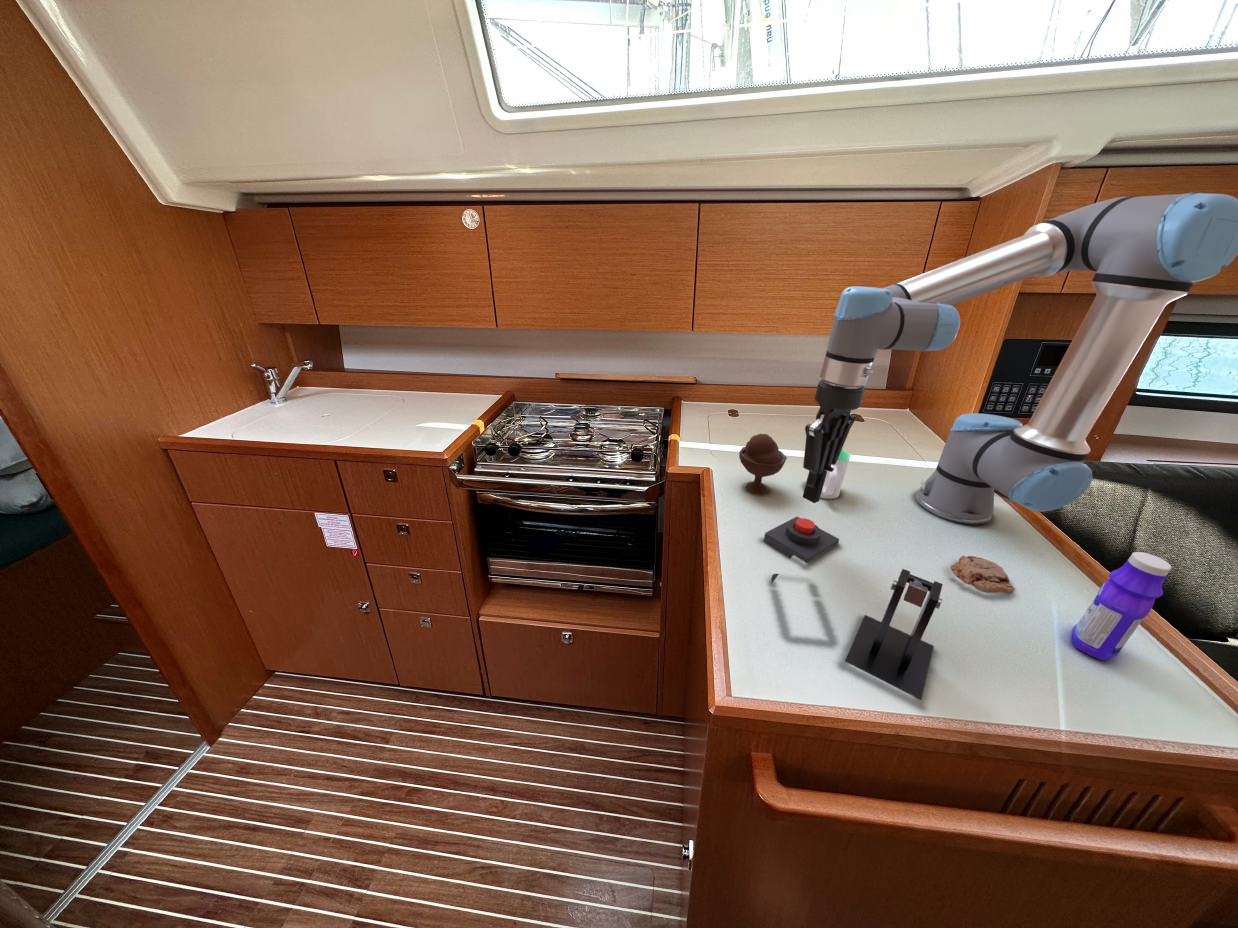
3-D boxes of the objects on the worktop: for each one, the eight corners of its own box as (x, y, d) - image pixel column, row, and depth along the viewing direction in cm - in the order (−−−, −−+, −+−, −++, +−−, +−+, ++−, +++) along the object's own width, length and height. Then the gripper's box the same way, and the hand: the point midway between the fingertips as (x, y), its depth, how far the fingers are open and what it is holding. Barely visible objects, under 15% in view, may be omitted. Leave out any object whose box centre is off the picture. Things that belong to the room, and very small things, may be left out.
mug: (846, 509, 110) (858, 470, 105) (810, 504, 111) (820, 465, 106) (835, 484, 120) (845, 447, 116) (802, 480, 122) (811, 444, 117)
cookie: (1002, 571, 91) (1009, 558, 90) (1017, 606, 83) (1024, 593, 81) (943, 556, 95) (949, 544, 94) (952, 588, 86) (958, 576, 85)
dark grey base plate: (794, 524, 103) (798, 509, 101) (836, 547, 96) (841, 531, 94) (763, 541, 97) (766, 525, 95) (805, 567, 90) (810, 550, 88)
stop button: (801, 523, 97) (802, 516, 97) (816, 531, 95) (818, 524, 94) (790, 528, 95) (792, 521, 95) (806, 537, 93) (808, 530, 92)
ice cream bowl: (781, 502, 111) (794, 445, 104) (733, 496, 113) (743, 439, 106) (777, 481, 121) (789, 427, 114) (733, 476, 122) (742, 422, 116)
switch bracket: (862, 620, 79) (889, 549, 72) (931, 651, 73) (966, 577, 66) (842, 666, 70) (870, 590, 63) (918, 705, 65) (957, 627, 58)
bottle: (1073, 624, 79) (1128, 541, 71) (1119, 646, 75) (1182, 560, 67) (1063, 645, 75) (1120, 559, 67) (1110, 669, 71) (1177, 581, 63)
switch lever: (897, 580, 76) (902, 567, 76) (932, 595, 73) (938, 581, 73) (892, 595, 66) (898, 579, 66) (932, 612, 63) (939, 596, 63)
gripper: (842, 394, 75) (808, 518, 86) (882, 382, 82) (846, 498, 93) (801, 382, 80) (774, 500, 91) (842, 372, 87) (812, 482, 98)
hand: (810, 499), depth 92 cm, fingers closed
